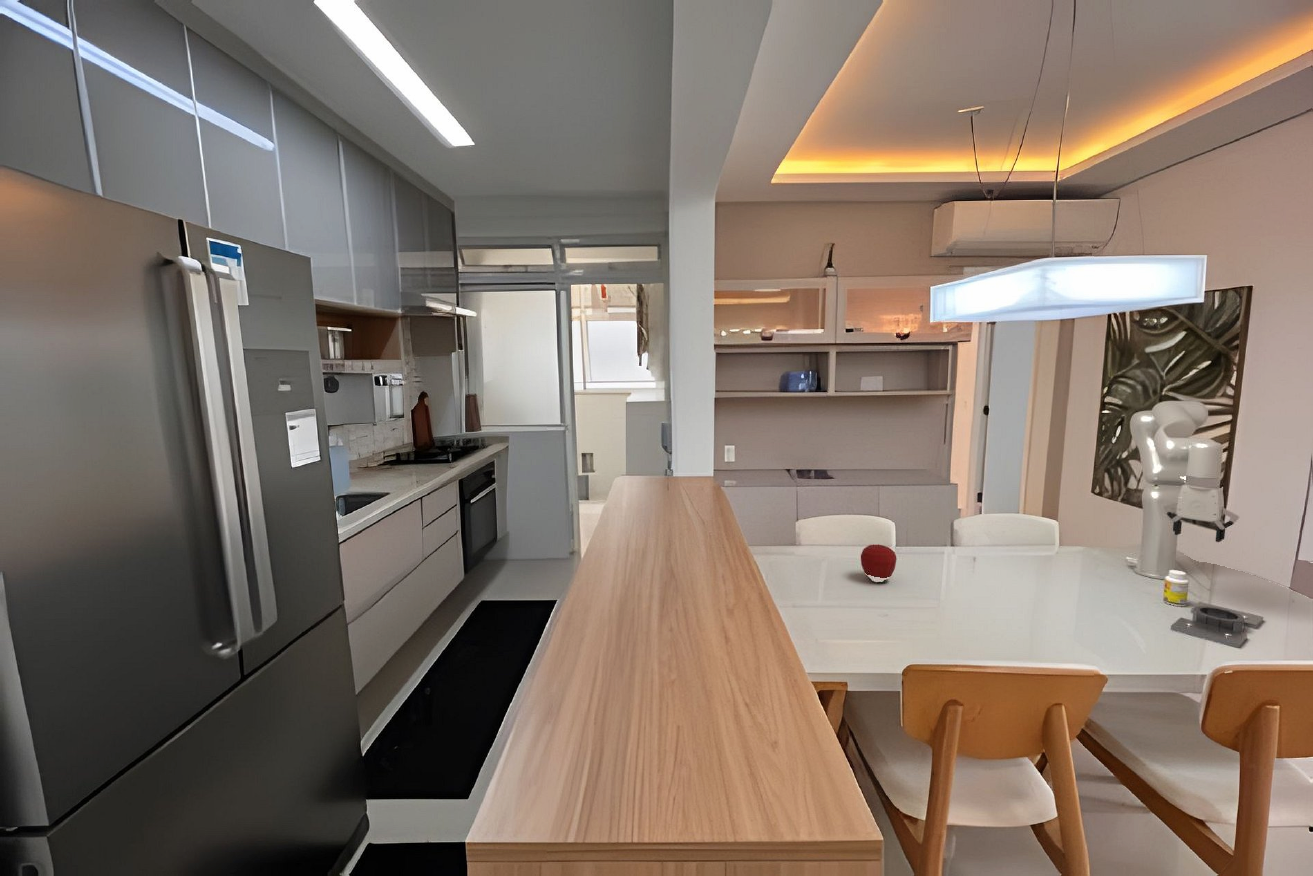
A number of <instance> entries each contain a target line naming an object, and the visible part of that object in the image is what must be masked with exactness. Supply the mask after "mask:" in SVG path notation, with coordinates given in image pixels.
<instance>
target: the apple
mask: <svg viewBox="0 0 1313 876" xmlns="http://www.w3.org/2000/svg"><path fill="white" fill-rule="evenodd" d="M897 559H898V558H897V556H896V553H895V550H893V549H892V548H890V547H889V546H887V545H882V544H879V543H878V544H869V545H867V546H866V547H864V548H863V549H862V551H861V554H860V564H861V567H862V570H863V572H865V573H866V574H867V575H871V576H874V577H880V578H887V577H890V576H891V577H892V575H893V573H894V572H895V569H896V565H897ZM865 573H864V574H865ZM891 577H890V578H891Z"/></svg>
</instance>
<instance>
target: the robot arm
mask: <svg viewBox="0 0 1313 876" xmlns="http://www.w3.org/2000/svg"><path fill="white" fill-rule="evenodd" d="M1208 410H1209V409H1208V408H1207V406H1206V405H1205V404H1204V402H1203V403H1202V402H1201V401H1198V400H1166V401H1161V402H1158V403H1156V404H1155V405H1154V406H1153V408H1152V409H1151V410H1142V411H1138V412H1135V413H1134V414H1133V415H1132V416H1131V418H1130V420H1129V429H1130V434H1131V436H1132V439H1133V441H1134V444H1135V445H1136V447H1137V450H1138V452H1139V456H1140V463H1141V469H1142V470H1141V471H1142V474H1143V479H1144V480H1145V482H1146V483H1148V484H1150V485H1151V486H1148V487H1146V488H1144V489H1143V490H1142V493H1141V504H1142V514H1143V515H1142V517H1143V518H1142V533H1141V543H1140V544H1141V545H1140V554H1139V555H1140V556H1139V557H1131V556H1127V555H1126V556H1125V559H1124V560H1125V563H1127V564H1131V565H1135V566H1133V571H1134V572H1135V573H1136V574H1138V575H1141V576H1143V577H1148V578H1150V579H1151V578H1152V579H1157V580H1165V577H1166V576H1169V571H1170V570H1176V569H1175V568H1176V567H1175V565H1176V556H1177V545H1178V535H1181V533H1182V527H1183V526H1182V524H1183V521H1182V520H1183V519H1188V520H1194V521H1200V522H1207V523H1214V524H1215V525H1216V526H1217V527H1218V528H1217V529H1216V532H1215V542H1216V543H1221V542H1222V541H1223V540H1225V537H1226V529H1227V528H1229V527H1231V526H1233V525H1234V524H1235V523H1236V522H1238V520H1239V519H1240V516H1239V515H1238V514H1236V513H1234V512H1232V511H1231V510H1228V509H1226V508H1225V500H1224V492H1223V488H1221V486H1220V485H1221V473H1222V465H1223V464H1222V463H1223V452H1224V447H1223V445H1222V444H1221V443H1219V442H1216V441H1215V440H1213V439H1211V438H1193V437H1191V436H1192V435H1193V434H1194V433H1195V432H1196V430H1197V429H1200V428H1201V427H1202V426H1204V425H1205V424H1206V423H1207V421H1208V419H1209V411H1208ZM1224 515H1225V516H1227V517H1229V520H1228V521H1227V522H1225V521H1224V520H1223V518H1224ZM1181 519H1182V520H1181Z"/></svg>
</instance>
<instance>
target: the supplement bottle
mask: <svg viewBox="0 0 1313 876" xmlns="http://www.w3.org/2000/svg"><path fill="white" fill-rule="evenodd" d="M1189 582H1190V581H1189V580H1188V579H1187V573H1186V572H1185V571H1181V570H1176V569H1174V570H1170V571H1169V576H1166V577H1165V579H1164V586H1163V587H1164V588H1163V602H1164V603H1165V602H1166V603H1165V604H1167V605H1169V604H1171V605H1170V606H1173V605H1174V606H1173V607H1180V608H1181V606H1182V607H1186V606H1187V603H1188V593H1189V584H1190V583H1189Z"/></svg>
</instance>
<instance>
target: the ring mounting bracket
mask: <svg viewBox="0 0 1313 876" xmlns="http://www.w3.org/2000/svg"><path fill="white" fill-rule="evenodd" d="M1190 613H1191V614H1192V619H1187V618H1183V617H1179V618H1178V619H1177V620H1176V621H1174V622H1173V623H1172V624H1171V625H1170V630H1171V629H1172V630H1171V631H1173V630H1174V631H1175V632H1177V631H1179V632H1178V633H1181V632H1182V633H1181V634H1184V633H1185V635H1188V634H1190V635H1189V636H1192V635H1193V636H1192V637H1196V636H1197V637H1196V638H1199V637H1200V638H1199V639H1203V638H1205V639H1204V640H1207V639H1208V640H1207V641H1210V640H1213V641H1212V642H1214V641H1215V643H1218V642H1220V643H1219V644H1221V643H1222V644H1223V645H1225V646H1229V647H1233V648H1237V649H1240V647H1241V646H1242V645H1243V644H1244V643H1245V642H1246V640H1247V639H1248V634H1247V633H1243V631H1244V629H1245V627H1246V628H1250V629H1254V630H1256V629H1257V628H1258V627H1259V626H1260V625H1261V624H1262V623H1263V622H1264V616H1261V615H1257V614H1253V613H1250V612H1244V611H1240V610H1236V609H1233V608H1232V609H1231V608H1227V607H1225V606H1224V607H1223V606H1219V605H1214V604H1211V603H1206V602H1202V601H1199V602H1198V603H1196V605H1194V606H1193V607H1192V608H1191V609H1190ZM1192 620H1193V621H1192ZM1241 632H1242V633H1241ZM1222 644H1221V645H1222Z"/></svg>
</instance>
